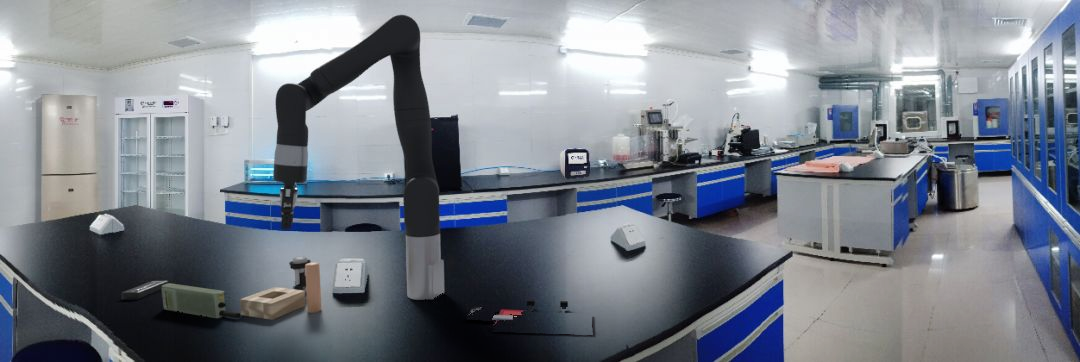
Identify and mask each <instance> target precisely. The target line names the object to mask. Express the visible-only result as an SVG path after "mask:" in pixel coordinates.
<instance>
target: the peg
mask: <svg viewBox="0 0 1080 362" xmlns="http://www.w3.org/2000/svg"><path fill="white" fill-rule="evenodd" d="M320 266H321V265H320V262H310V263H308V264H306V265H305V271H306V291H307V293H306V305H307V306H306V308H307V309H306V310H307V313H309V314H314V313H319V312H320V311H322V292H321V290H322V289H321V287H322V286H321V269H320Z"/></svg>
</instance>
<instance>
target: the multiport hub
mask: <svg viewBox="0 0 1080 362" xmlns="http://www.w3.org/2000/svg"><path fill="white" fill-rule="evenodd" d="M168 282H169V281H168V280H152V281H149V282H146V283H144V284H141V285H138V286H136V287H133V288H130V289H128V290H126V291H122V292H121V300H122V301H127V300H128V301H129V300H131V301H132V300H134V301H135V300H136V301H137V300H140V299H142V298H145V297H148V296H150V295H153V294H155V293H157V292H159V291H162V290H161V289H162V285H165V284H168Z"/></svg>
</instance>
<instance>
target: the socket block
mask: <svg viewBox="0 0 1080 362" xmlns="http://www.w3.org/2000/svg"><path fill="white" fill-rule="evenodd" d="M305 294H306V293H305V291H303V290H295V289H293V288H287V287H277V286H274V287H271V288H269V289H268V288H267V289H265V290H262V291H260V292H257V293H253V294H251V295H248V296H245V297H243V298H240V301H239V302H240V314H241V316H247V317H251V318H252V317H253V318H259V319H265V320H275V319H277V318H279V317H282V316H284V315H286V314H287V315H288V314H289V313H292V312H293V311H297V310H298V309H300V308H304V307H305V306H306V295H305Z"/></svg>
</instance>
